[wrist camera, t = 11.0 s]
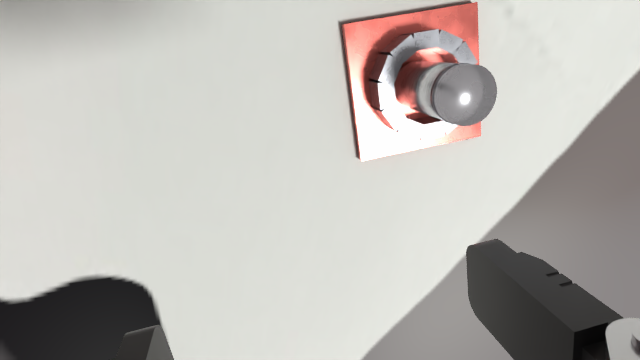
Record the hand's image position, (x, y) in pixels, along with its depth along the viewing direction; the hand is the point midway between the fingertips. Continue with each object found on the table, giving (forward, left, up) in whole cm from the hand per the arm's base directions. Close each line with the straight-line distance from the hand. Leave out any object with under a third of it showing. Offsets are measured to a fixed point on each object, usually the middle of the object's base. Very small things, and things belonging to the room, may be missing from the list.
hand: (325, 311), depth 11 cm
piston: (0, +17, -33) cm, 37 cm away
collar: (0, +17, -34) cm, 38 cm away
